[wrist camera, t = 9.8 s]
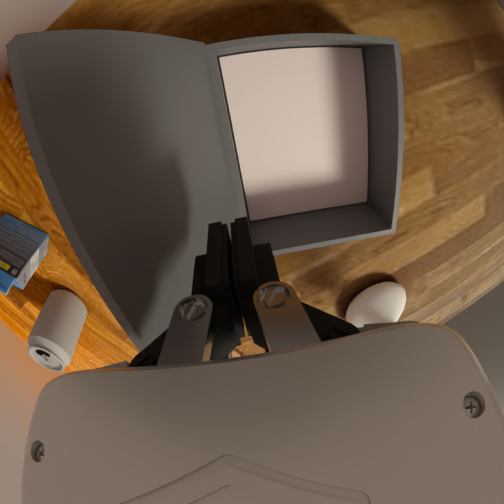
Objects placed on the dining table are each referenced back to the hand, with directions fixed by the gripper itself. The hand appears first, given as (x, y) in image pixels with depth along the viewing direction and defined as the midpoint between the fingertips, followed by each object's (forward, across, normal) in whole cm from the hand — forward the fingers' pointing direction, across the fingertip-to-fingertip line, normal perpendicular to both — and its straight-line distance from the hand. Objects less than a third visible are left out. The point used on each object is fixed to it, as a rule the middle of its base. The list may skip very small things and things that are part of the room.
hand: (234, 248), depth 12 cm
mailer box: (+19, -8, 0) cm, 20 cm away
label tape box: (+19, +31, +4) cm, 36 cm away
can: (+19, +31, +18) cm, 40 cm away
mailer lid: (+4, +2, 0) cm, 4 cm away
